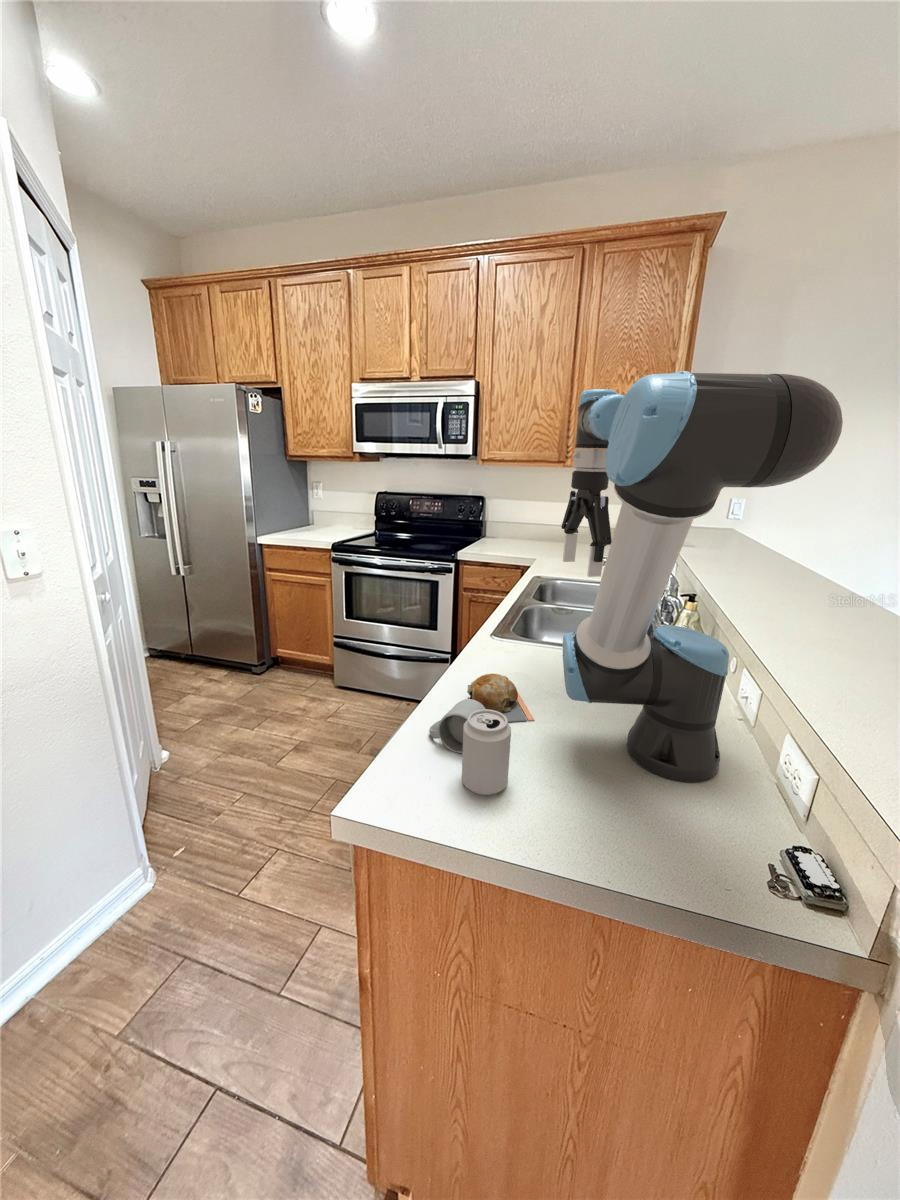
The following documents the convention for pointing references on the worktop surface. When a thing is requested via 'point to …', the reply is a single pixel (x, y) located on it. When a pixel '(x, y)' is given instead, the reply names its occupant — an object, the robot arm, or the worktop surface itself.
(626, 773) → the worktop surface
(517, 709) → the mat
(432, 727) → the ceramic mug
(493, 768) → the can
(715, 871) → the worktop surface
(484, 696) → the bread roll
